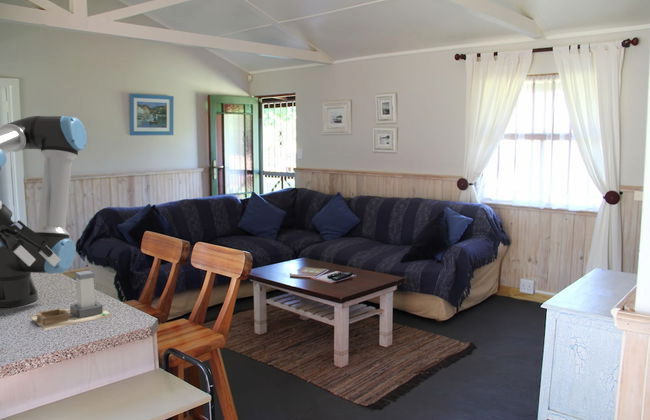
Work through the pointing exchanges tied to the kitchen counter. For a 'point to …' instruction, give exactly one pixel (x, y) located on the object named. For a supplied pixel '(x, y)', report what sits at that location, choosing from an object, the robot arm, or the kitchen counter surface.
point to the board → (71, 320)
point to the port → (86, 310)
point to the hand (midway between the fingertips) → (44, 263)
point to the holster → (52, 316)
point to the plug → (85, 289)
